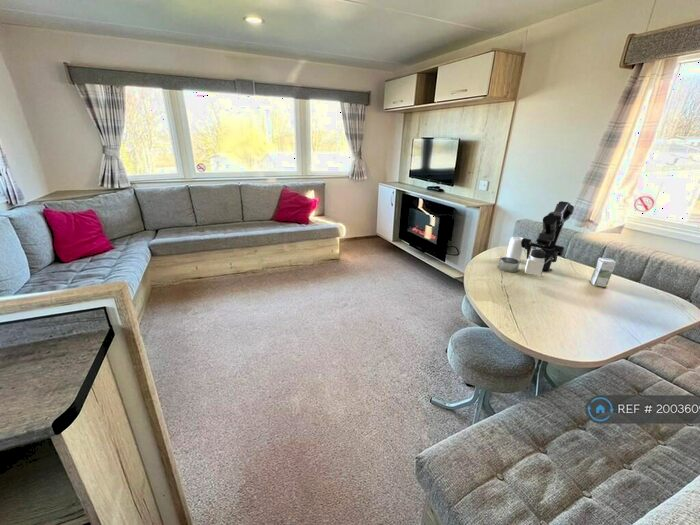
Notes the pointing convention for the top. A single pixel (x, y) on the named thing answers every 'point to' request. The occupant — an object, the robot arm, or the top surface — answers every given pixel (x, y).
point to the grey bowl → (508, 264)
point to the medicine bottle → (535, 262)
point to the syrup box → (602, 272)
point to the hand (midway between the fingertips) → (535, 260)
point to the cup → (515, 248)
